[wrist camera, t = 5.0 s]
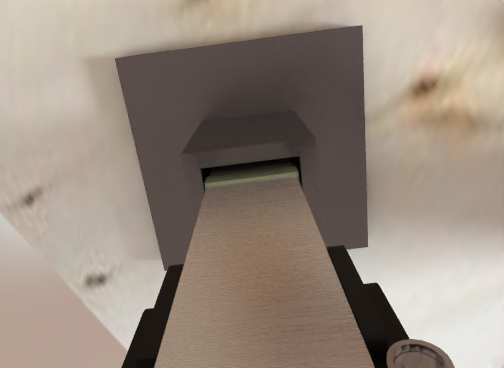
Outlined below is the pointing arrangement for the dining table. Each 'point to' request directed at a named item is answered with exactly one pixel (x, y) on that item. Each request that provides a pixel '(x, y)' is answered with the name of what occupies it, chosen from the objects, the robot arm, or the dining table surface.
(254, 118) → the stand housing
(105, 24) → the dining table surface
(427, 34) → the dining table surface
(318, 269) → the column
